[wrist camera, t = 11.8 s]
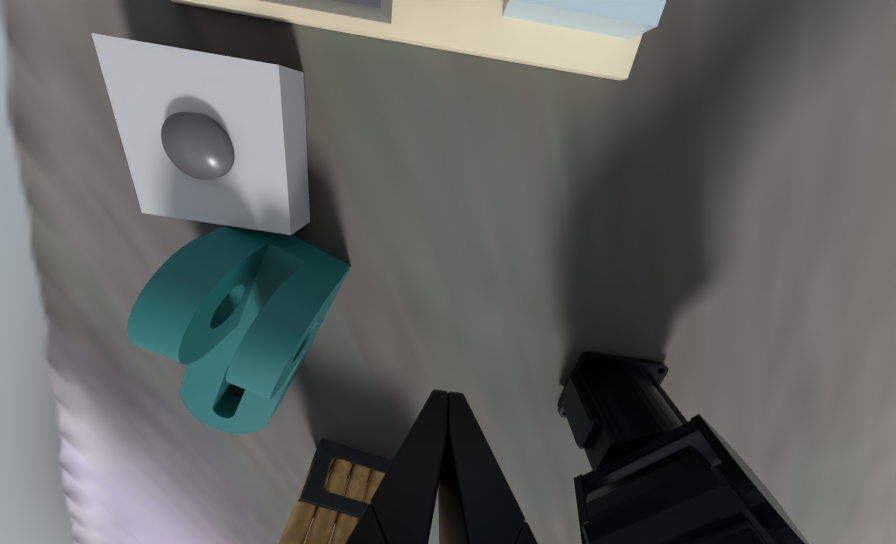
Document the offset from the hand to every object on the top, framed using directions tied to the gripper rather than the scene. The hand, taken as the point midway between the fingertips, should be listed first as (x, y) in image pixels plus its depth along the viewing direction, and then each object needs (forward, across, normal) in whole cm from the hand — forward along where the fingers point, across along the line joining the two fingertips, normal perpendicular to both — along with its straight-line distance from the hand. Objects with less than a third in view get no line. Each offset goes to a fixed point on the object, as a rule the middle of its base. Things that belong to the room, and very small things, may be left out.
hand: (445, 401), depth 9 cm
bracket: (+13, +13, +10) cm, 21 cm away
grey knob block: (+12, +13, -4) cm, 18 cm away
